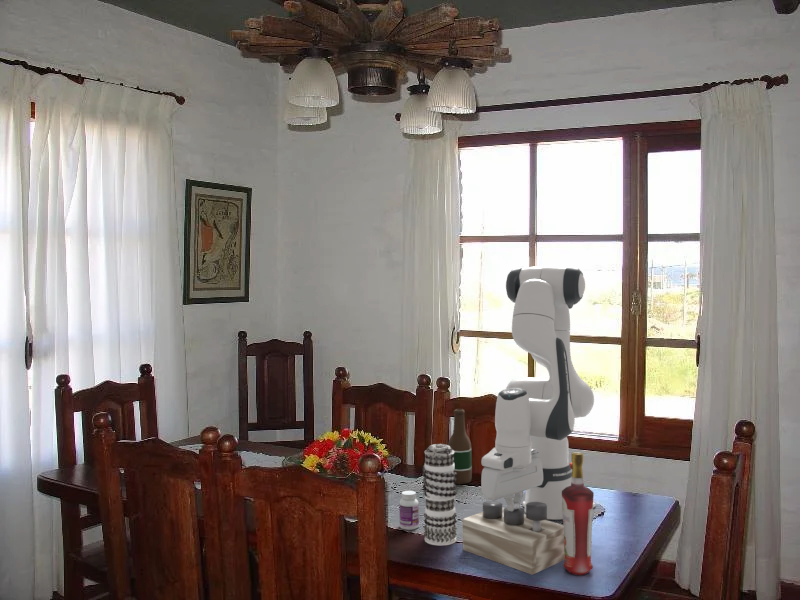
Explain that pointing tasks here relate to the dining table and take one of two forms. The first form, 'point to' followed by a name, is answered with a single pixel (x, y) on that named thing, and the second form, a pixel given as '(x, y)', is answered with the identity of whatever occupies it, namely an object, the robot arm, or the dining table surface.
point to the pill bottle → (409, 511)
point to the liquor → (577, 520)
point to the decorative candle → (439, 495)
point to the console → (514, 542)
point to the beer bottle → (461, 449)
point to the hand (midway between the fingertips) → (513, 509)
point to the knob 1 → (492, 510)
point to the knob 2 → (514, 517)
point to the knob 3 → (536, 514)
